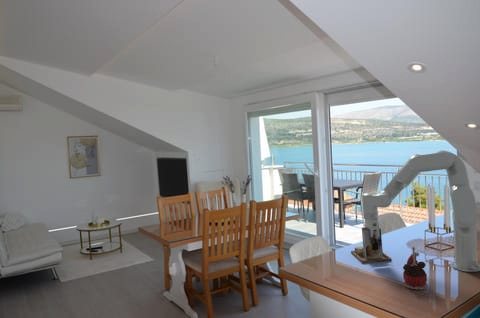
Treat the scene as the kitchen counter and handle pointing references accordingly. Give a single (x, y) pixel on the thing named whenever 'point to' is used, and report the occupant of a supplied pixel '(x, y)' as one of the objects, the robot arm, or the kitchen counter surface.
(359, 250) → the beech block
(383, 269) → the kitchen counter surface
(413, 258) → the cake
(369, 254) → the coffee box
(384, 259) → the tray
